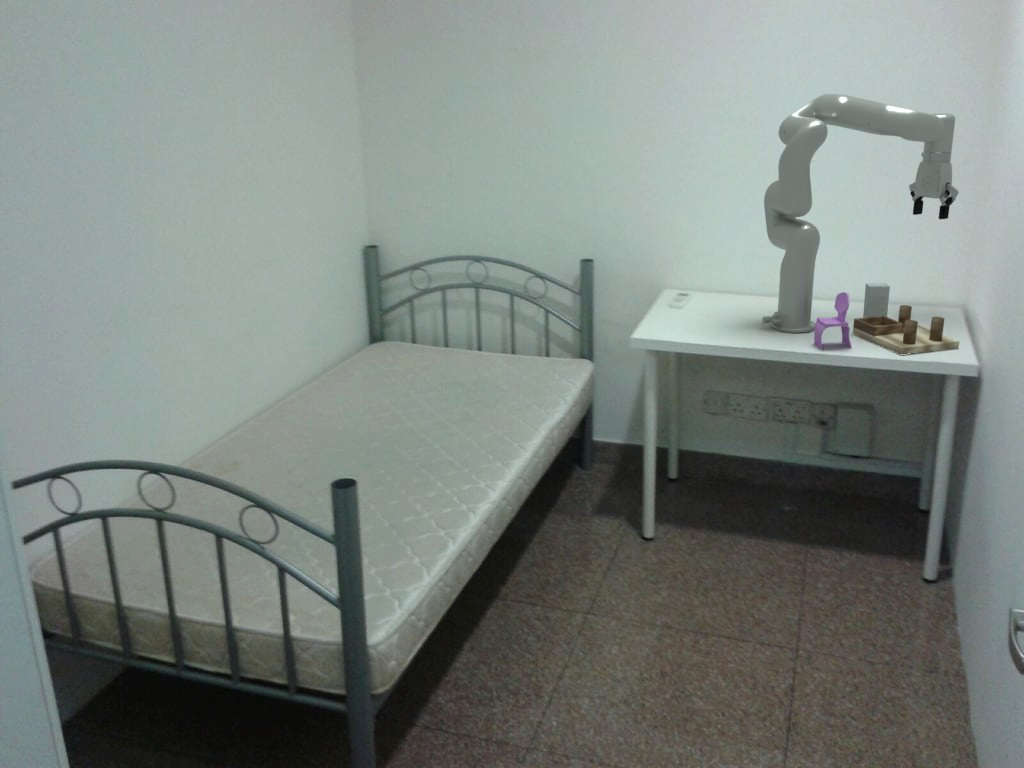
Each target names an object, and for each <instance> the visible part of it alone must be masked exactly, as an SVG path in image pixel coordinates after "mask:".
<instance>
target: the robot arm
mask: <svg viewBox="0 0 1024 768" xmlns="http://www.w3.org/2000/svg"><path fill="white" fill-rule="evenodd" d="M955 123H956V116H955V115H954V114H952V113H931V114H930V113H927V112H921V111H918V110H912V109H907V108H904V107H899V106H895V105H891V104H887V103H882V102H877V101H873V100H869V99H865V98H860V97H856V96H852V95H847V94H842V93H841V94H839V93H837V94H836V93H824V94H822V95H819V96H817V97H816V98H813V99H812V100H811V101H809V102H808V103H806V104H804V105H803V106H802V107H800V108H798V109H797V110H796V111H793V113H791V114H790V115H788V116H787V117H785V119H784V120H783V121H782V122H781V124H780V125H779V128H778V137H779V140H780V142H781V143H782V144H784V145H785V147H784V149H783V151H782V153H781V155H780V156H779V160H778V166H777V167H778V171H777V172H778V173H777V174H778V179H777V180H774V181H773V182H772V183H770V185H768V187H767V189H766V190H765V193H764V196H763V197H764V198H763V207H764V217H765V226H766V227H765V228H766V232H767V233H766V234H767V236H768V238H767V239H768V241H769V242H770V243H771V244H772V245H773V246H774V247H776V248H778V249H781V250H783V251H785V252H784V255H783V257H782V260H781V264H780V269H779V271H780V272H779V284H778V285H779V288H778V289H779V290H778V299H777V300H778V304H777V311H773V312H774V313H773V314H772V315H771V316H769V315H768V316H762V318H761V322H762V323H763V324H771V328H773V330H776V331H780V332H783V333H795V334H800V333H801V334H802V333H809V332H812V331H813V332H814V330H815V323H816V322H813V321H812V320H811V319H812V308H813V307H812V306H813V295H814V294H813V293H814V281H815V279H814V278H815V269H816V268H815V267H816V260H817V254H818V250H819V248H820V247H819V246H820V243H821V233H820V231H819V230H818V228H817V226H815V224H813V223H811V222H809V221H807V220H803V219H800V218H801V217H805V216H807V214H808V213H809V212H810V211H811V209H812V206H813V193H812V183H811V164H812V163H811V162H812V159H813V157H814V155H815V153H817V151H818V150H819V148H821V147H822V146H823V144H824V143H825V141H826V140H827V137H828V133H829V131H828V126H835V127H840V128H845V129H847V130H848V129H849V130H854V131H859V132H863V133H868V134H872V135H877V136H887V137H888V136H889V137H900V138H901V139H903V140H906V141H910V142H920V143H924V144H923V152H921V155H920V156H921V157H922V161H920V162H919V165H918V167H917V170H916V175H915V176H916V177H915V180H914V182H913V183H911V184H908V185H909V186H908V187H909V188H908V189H909V191H910V196H911V198H912V199H911V200H912V201H913V209H912V215H913V216H916V215H922V214H923V211H924V210H923V209H924V208H923V207H924V200H923V199H924V198H927V199H928V198H930V199H938V200H939V201H940V204H941V205H939V211H938V212H939V213H938V219H939V220H946V219H949V213H950V206H951V205H953V202H955V201H956V198H957V197H958V195H959V193H960V191H959V190H958V189H956V188H955V187H954V186H953V166H952V163H951V162H952V161H951V160H952V152H953V151H952V150H953V144H954V143H953V142H954V135H955V134H954V132H955V126H956V125H955Z"/></svg>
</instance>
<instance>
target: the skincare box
mask: <svg viewBox="0 0 1024 768" xmlns="http://www.w3.org/2000/svg"><path fill="white" fill-rule="evenodd" d="M864 288H865V289H864V300H863V301H864V303H863V315H862V318H867V317H876V316H885V317H888V309H889V300H890V291H891V289H890V288H891V287H890V285H889V284H888V283H886V282H879V283H878V282H875V283H874V282H872V283H871V282H870V283H869V282H868V283H865V287H864Z"/></svg>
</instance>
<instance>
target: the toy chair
mask: <svg viewBox="0 0 1024 768" xmlns="http://www.w3.org/2000/svg"><path fill="white" fill-rule="evenodd" d="M849 307H850V294H849V293H848V292H845V291H844V292H840V293H838V294H837V295H836V296H835V301H834V310H835V311H836V312H837V316H833V317H816V321H815V322H814V323H815V329H814V330H813V333H814V336H813V341H814V342H813V343H814V344H815V346H817V347H818V348H819V349H820V350H822V351H824V346H823V341H822V338H823V337H822V336H823V333H824V331H825V329H827V328H835V327H840V329H841V343H842V344H843V345H845V346H846V347H848V348H849V349H850V348H851V350H853V347H852V342H851V340H850V330H851V329H850V327H849V322H848V321H846V318H847V313H848V312H847V311H848V310H849Z"/></svg>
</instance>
